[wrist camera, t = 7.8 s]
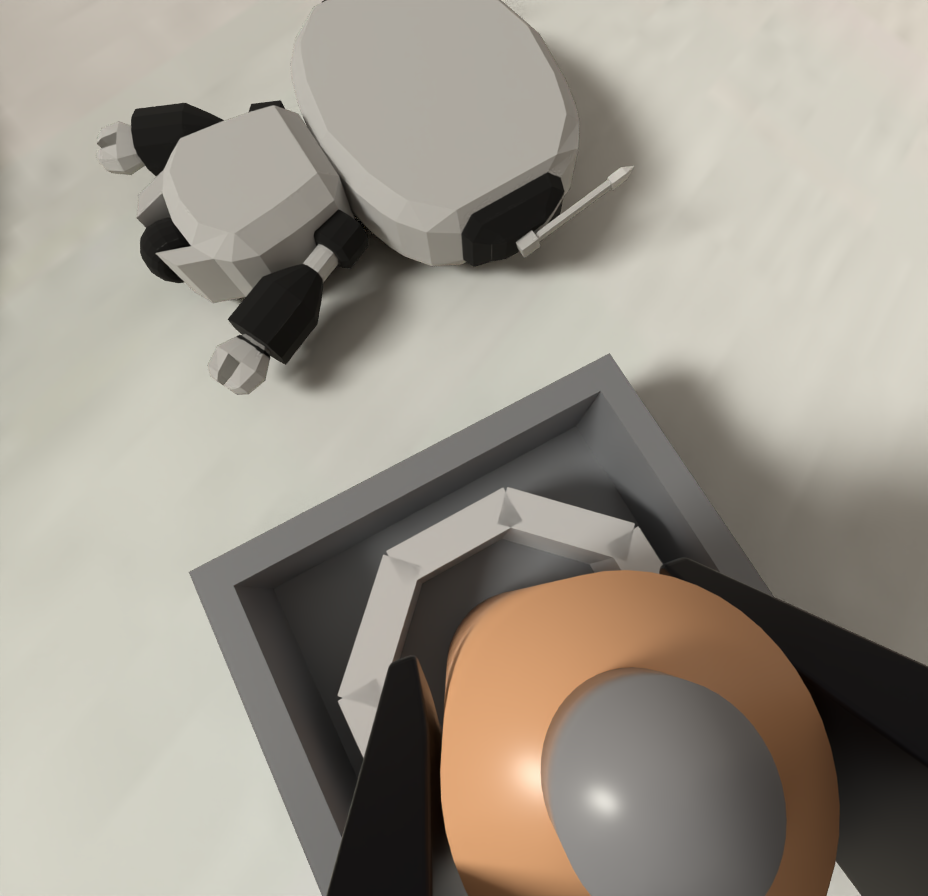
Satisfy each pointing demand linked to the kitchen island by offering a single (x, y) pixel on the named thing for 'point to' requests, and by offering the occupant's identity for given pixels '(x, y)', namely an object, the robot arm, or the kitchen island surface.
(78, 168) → the kitchen island surface
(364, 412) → the kitchen island surface
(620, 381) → the housing
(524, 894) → the orange cylinder
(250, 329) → the robot toy
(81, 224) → the kitchen island surface
